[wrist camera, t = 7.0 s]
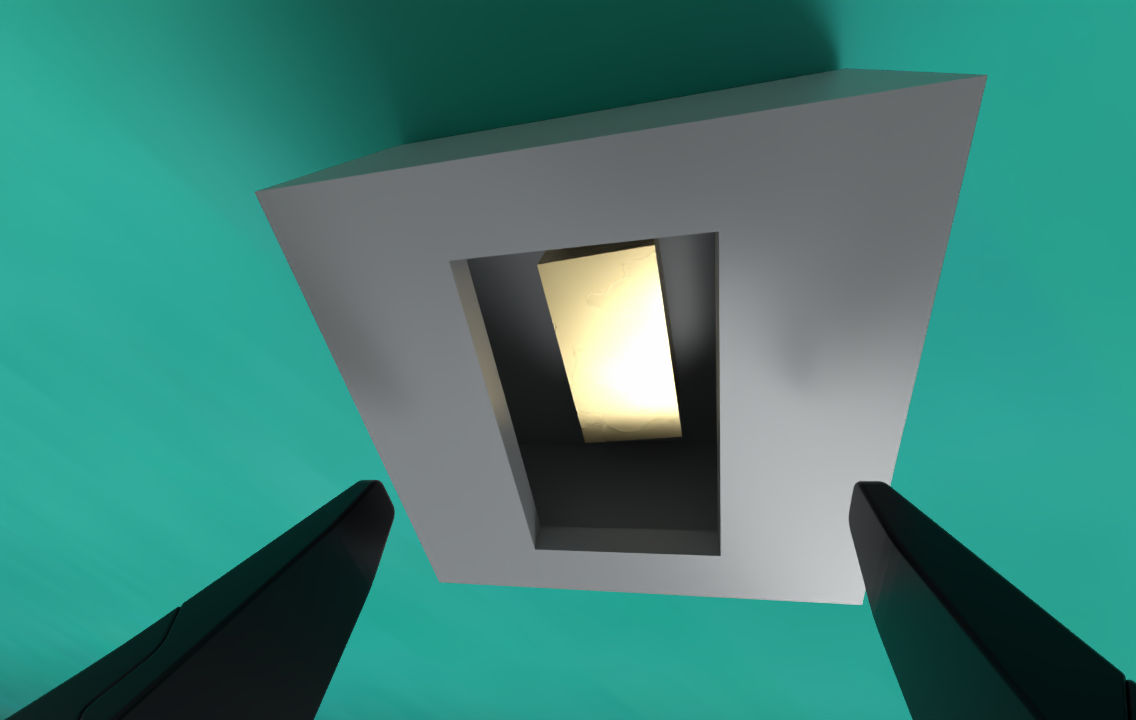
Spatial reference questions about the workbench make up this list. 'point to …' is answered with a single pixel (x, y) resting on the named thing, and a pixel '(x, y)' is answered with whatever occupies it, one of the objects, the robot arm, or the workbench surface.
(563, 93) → the workbench surface
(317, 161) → the workbench surface
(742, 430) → the slot box
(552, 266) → the tall cream wooden block
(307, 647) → the robot arm
